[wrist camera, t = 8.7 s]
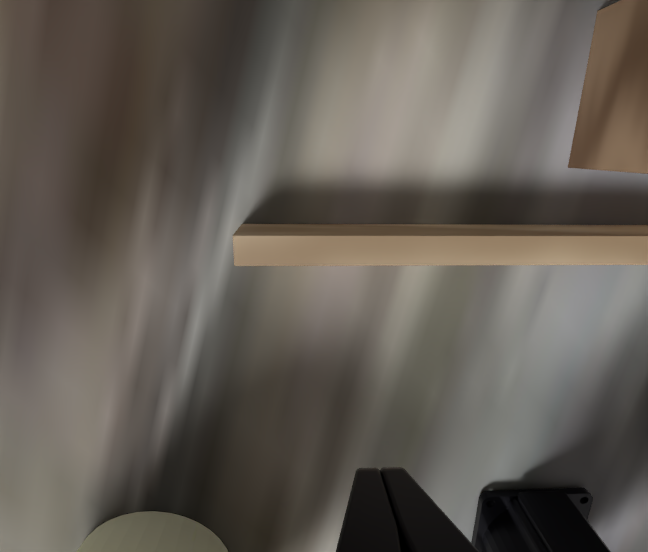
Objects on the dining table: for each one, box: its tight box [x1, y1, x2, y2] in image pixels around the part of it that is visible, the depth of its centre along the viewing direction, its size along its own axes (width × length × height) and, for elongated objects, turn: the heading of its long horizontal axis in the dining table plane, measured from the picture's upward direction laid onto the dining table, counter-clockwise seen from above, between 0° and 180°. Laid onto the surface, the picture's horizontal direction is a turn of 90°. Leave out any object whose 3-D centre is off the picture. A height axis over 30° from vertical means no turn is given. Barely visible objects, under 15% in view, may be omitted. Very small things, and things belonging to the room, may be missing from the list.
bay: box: [233, 224, 648, 266], centre depth 15 cm, size 13×22×3 cm, turn 89°
